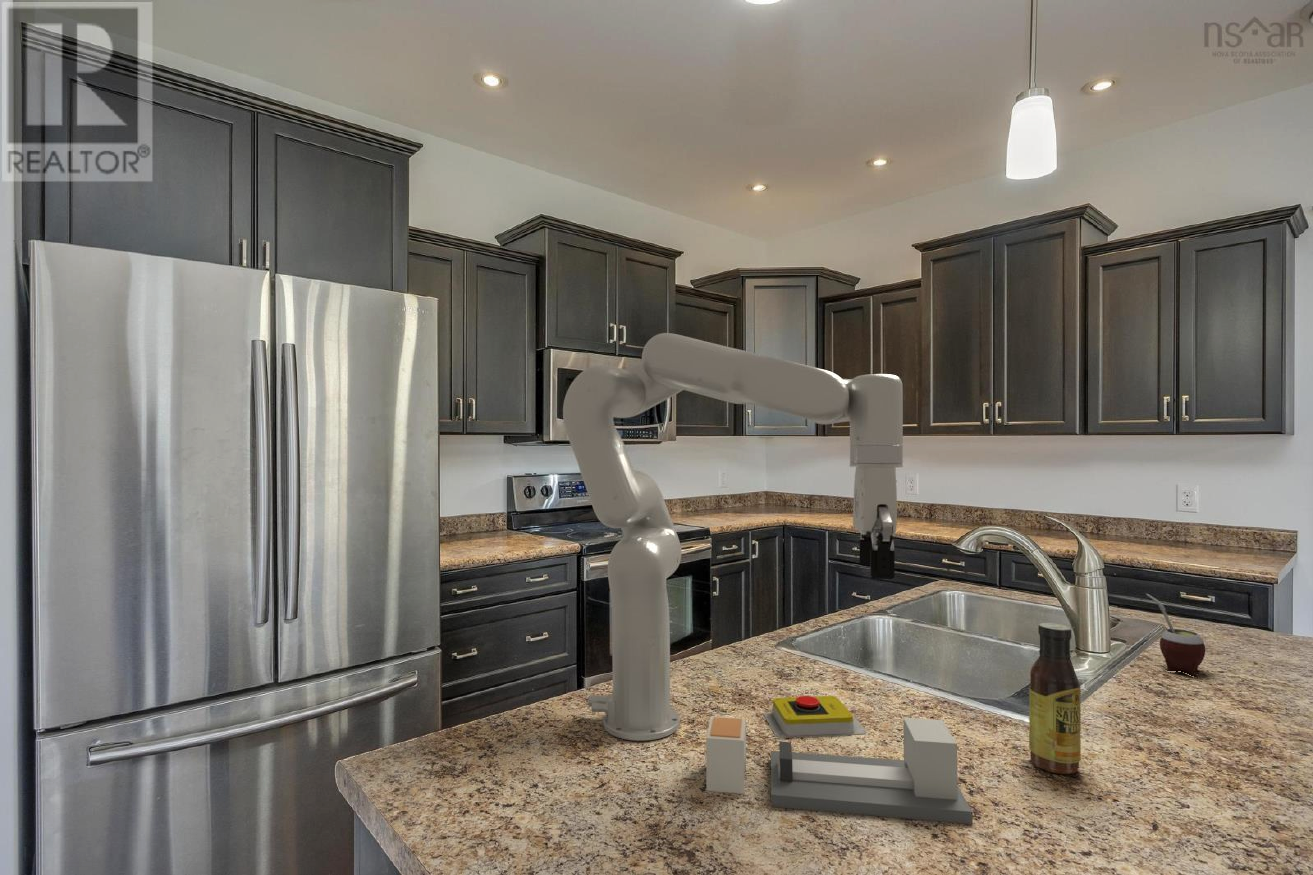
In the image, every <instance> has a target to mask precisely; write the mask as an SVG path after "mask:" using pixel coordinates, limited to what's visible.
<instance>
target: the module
mask: <svg viewBox="0 0 1313 875" xmlns="http://www.w3.org/2000/svg"><path fill="white" fill-rule="evenodd" d="M746 720H747V718H744V717H742V718H741V717H729V716H727V717H725V716H713V715H712V716H710V719H709V722H708V727H707V732H706V737H705V746H706V747H705V750H706V752H705V756H706V757H705V759H706V761H705V762H706V766H705V767H706V768H705V769H706V771H705V772H706V773H705V775H706V778H705V780H706V791H707V792H718V793H731V794H738V795H739V794H740V795H745V772H747V734H746V732H747V729H746V728H747V721H746Z"/></svg>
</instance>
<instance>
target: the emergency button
mask: <svg viewBox="0 0 1313 875" xmlns="http://www.w3.org/2000/svg"><path fill="white" fill-rule="evenodd" d="M771 710H772V711H768V712H764V714H763V716H764V718H765V720H766V722H767V724H768V723H769V724H768V726H769V727H770V729H771V732H774V733H773V734H774V737H775V736H776V737H778V738H782V737H786V738H807V737H808V738H811V737H830V736H831V737H832V736H833V737H834V736H835V737H837V736H860V735H861V736H862V735H866V734H868V731H867V729H866V728H865V727H864V725H862V723H861V722H860V721H859V720H858V719H857V718H856V716H854V714H853V713H852V712H851V711H850V710H849V709H848V708H847V707H846V706H845V705H844V704H843V703H842V702H841V700H839V698H838V697H837V696H834V695H821V696H820V695H819V696H811V695H810V696H809V695H801V696H791V697H789V696H788V697H787V696H786V697H775V698H773V700H772V709H771Z"/></svg>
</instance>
